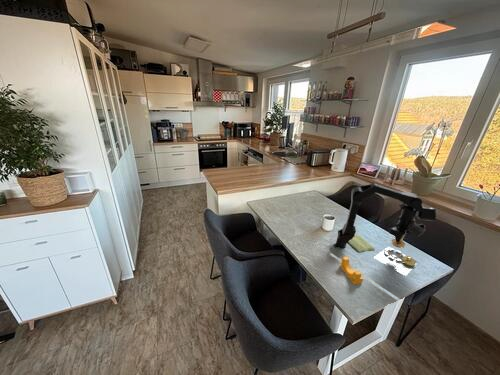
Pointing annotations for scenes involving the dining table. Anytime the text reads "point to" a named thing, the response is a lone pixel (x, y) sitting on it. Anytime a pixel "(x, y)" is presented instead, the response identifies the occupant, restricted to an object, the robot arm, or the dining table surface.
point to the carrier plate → (396, 260)
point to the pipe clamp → (351, 271)
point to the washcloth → (360, 244)
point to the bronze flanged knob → (400, 244)
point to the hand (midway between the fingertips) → (398, 241)
